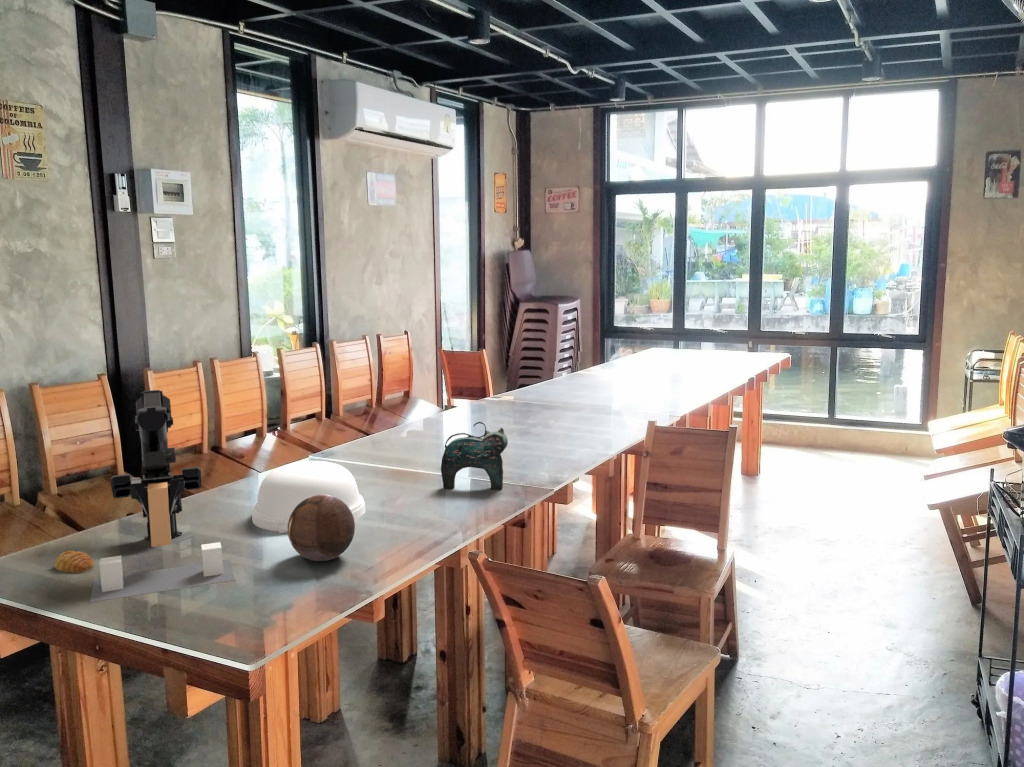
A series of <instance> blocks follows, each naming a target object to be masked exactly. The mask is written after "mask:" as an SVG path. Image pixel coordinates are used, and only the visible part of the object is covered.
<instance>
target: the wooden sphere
mask: <svg viewBox="0 0 1024 767" xmlns="http://www.w3.org/2000/svg"><path fill="white" fill-rule="evenodd" d="M355 522H356V521H354V517H353V515H352V512H351V511H350V509H349V508H348V506H347V505H346V504H345V503H344V502H343V501H341V500H340V499H338V498H336V497H333V496H330V495H315V496H311V497H309V498H307V499H305V500H303V501H302V502H301V503H299V504H298V505H297V506H296V508H295V509H294V510H293V512H292V514H291V516H290V518H289V522H288V532H287V536H288V539H289V542H290V545H291V546H292V547H293V549H294V550H295V551H296V553H298V554H299V555H300V556H301V557H303V558H305V559H307V560H309V561H313V562H326V561H330V560H334V559H335V558H337V557H339V556H341V555H342V554H343V553H344V552H345V551H346V550H348V548H349V546H350V545H351V543H352V541H353V539H354V536H355V530H356V524H355Z"/></svg>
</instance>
